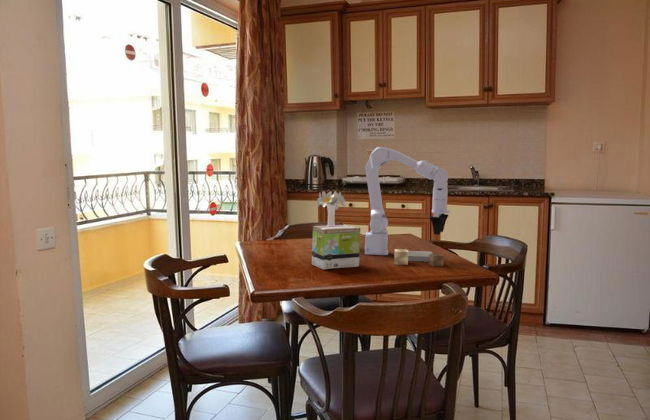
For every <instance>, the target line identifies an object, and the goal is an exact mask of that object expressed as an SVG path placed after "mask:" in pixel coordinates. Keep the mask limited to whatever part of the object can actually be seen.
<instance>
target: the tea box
mask: <svg viewBox="0 0 650 420" xmlns="http://www.w3.org/2000/svg"><path fill="white" fill-rule="evenodd" d="M311 242H312V243H311V245H312V247H311V248H312V249H311V265H313V266H314V267H317V268H319V269H321V270H328V269H329V270H331V269H341V268H344V269H345V268H356V267H359V266H360V254H361V253H360V250H361V248H360V247H361V227H358V226H354V225H350V224H335V225H328V224H327V225H326V224H325V225H313V226H312V241H311Z"/></svg>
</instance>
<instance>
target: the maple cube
mask: <svg viewBox="0 0 650 420" xmlns="http://www.w3.org/2000/svg"><path fill="white" fill-rule="evenodd" d="M408 251H409V250H408V249H406V248H405V249H403V248H402V249H401V248H394V261H393V263H394V265H398V266H399V265H402V266H405V265H406V266H408V265H409V261H408Z"/></svg>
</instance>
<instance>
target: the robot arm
mask: <svg viewBox="0 0 650 420" xmlns="http://www.w3.org/2000/svg"><path fill="white" fill-rule="evenodd" d="M369 155H370V156H369V158H368V161H367V162H366V165H365V169H364V170H365V175H366V183H367V189H368V198H369V204H370V222H369V227H370V231H366V232H365V238H364V241H365V242H364V255H372V256H373V255H374V256H376V255H377V256H388V255H389V250H388V241H389V240H388V237H389V235H388V233H389V231H388V230H387V227H388V226H389V220H388V218H387V216H386V212H385V210H384V205H383V199H382V198H383V197H382V191H381V185H380V177H379V171H380V169H381V168H382V167H383V165H385V164H387V162H389V161H391V162H392V161H397V162H399V163H401V164H404V165H406V166H408V167H411V168H413V169H415V170H414V171H415V173H416V174H418V175H420V176H422V177H424V178H426V179H428V180H430V181H431V180H432V181H433V188H432V206H431V208H432V209H431V213H432V214H433V215H431V216H429V219H430V222H431V225H432V228H433V229H432V231H433V235H438V236H439V235H441V233H443V232H444V229H445V225H446V222H447V219H448V218H449V213H450V212H451V211H450V210H448V195H449V194H448V192H449V191H448V185H449V184H448V180H449V173H448V172H447V170H445V169H444V168H440V165H437V166H436V165H434V164H432V163H429V162H430V161H429V160H427V159H426V160H424V159H423V160H420V161H418V160H416V159H414V158H412V157H410V156H408V155H406V154H405V153H402V152H401V151H398V150H394V149H392V148H389V147H385V146H384V147H383V146H378V147H376V148H374V150H373V151H372V152H371V153H370V154H369Z"/></svg>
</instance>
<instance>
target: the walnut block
mask: <svg viewBox="0 0 650 420" xmlns="http://www.w3.org/2000/svg"><path fill="white" fill-rule="evenodd" d="M428 265H430V266H431V265H432V266H431V267H444V255H443V254H441V253H432V254H429V262H428Z"/></svg>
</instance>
